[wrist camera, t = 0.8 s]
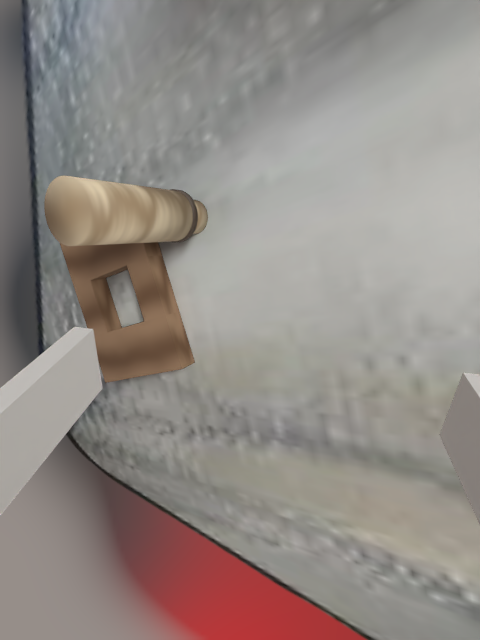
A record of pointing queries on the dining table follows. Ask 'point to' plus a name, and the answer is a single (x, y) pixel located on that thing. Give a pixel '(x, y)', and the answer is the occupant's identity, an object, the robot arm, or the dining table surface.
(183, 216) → the birch peg
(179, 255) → the dining table surface
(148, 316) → the walnut board
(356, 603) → the dining table surface
